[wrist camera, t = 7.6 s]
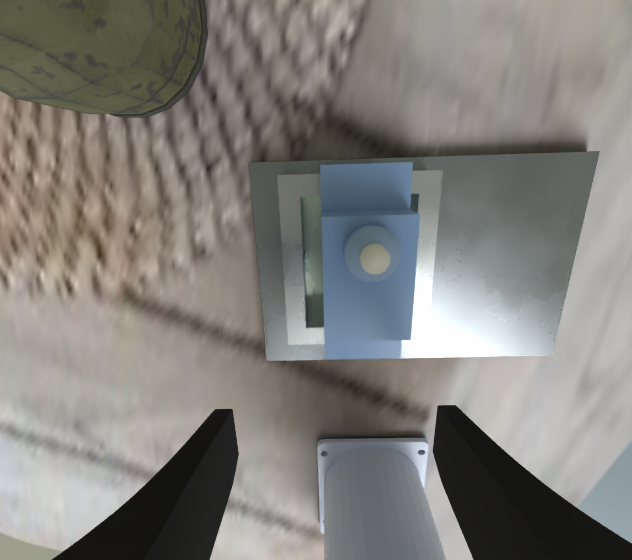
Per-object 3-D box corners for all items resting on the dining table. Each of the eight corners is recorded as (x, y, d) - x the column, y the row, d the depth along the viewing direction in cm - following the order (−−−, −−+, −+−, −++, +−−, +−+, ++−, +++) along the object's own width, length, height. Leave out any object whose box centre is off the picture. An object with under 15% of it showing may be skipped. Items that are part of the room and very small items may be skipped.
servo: (383, 316, 20) (417, 398, 13) (323, 318, 20) (326, 399, 13) (389, 162, 17) (437, 161, 10) (320, 164, 17) (320, 165, 10)
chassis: (543, 348, 22) (580, 379, 19) (268, 354, 22) (260, 385, 19) (587, 151, 18) (644, 149, 15) (251, 162, 18) (237, 162, 15)
